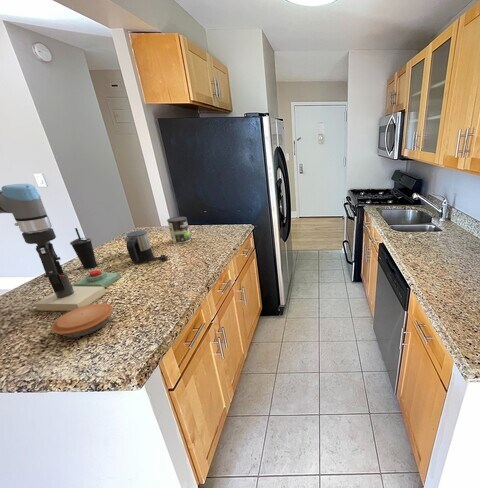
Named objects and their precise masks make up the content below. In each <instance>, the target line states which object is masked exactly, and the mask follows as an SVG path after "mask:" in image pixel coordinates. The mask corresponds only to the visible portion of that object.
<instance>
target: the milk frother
mask: <svg viewBox="0 0 480 488" xmlns="http://www.w3.org/2000/svg"><path fill="white" fill-rule="evenodd" d="M125 236H127V238H128V241H127V242H126V244H125V245H126V250H127V252H128V255H129V258H130V261H131V262H132V263H135V264H143V263H148V262H151V261H154V260H155V261H156V260H162V261H164V260H166V258H169V256H168V255H165V254H161V255H160V256H157V257H155V255H154V253H153V249H152V246H151V242H150V238H149V235H148V230H145V229H140V230H139V229H138V230H133V231H130V232H127V233H126V234H125Z"/></svg>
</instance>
